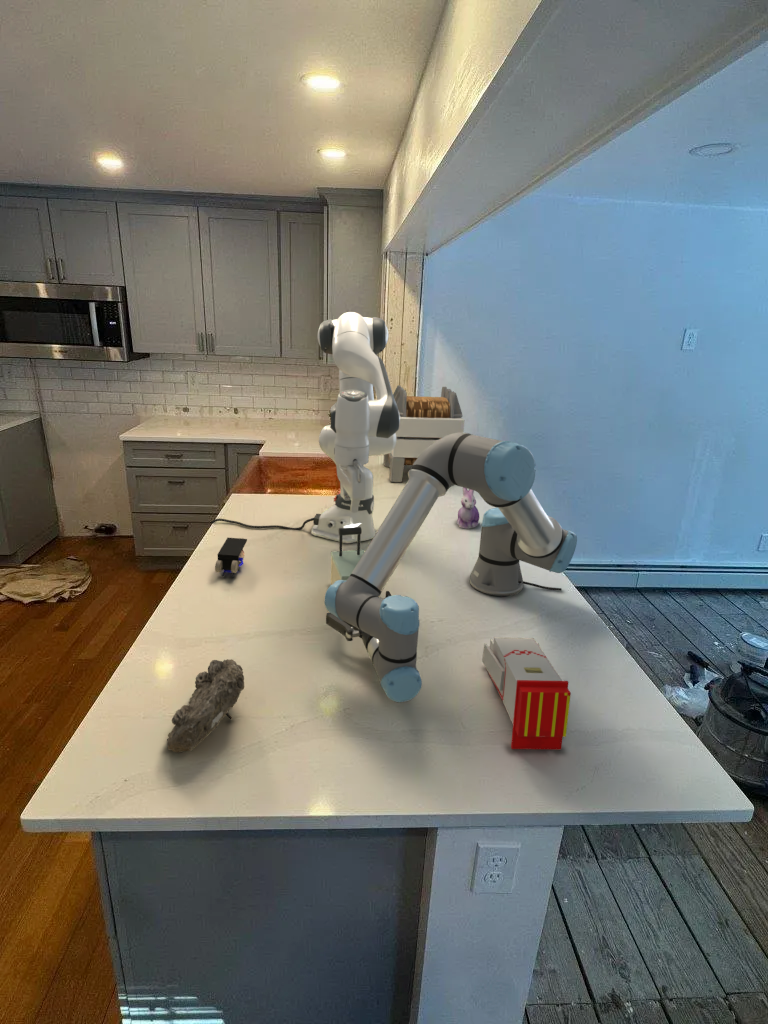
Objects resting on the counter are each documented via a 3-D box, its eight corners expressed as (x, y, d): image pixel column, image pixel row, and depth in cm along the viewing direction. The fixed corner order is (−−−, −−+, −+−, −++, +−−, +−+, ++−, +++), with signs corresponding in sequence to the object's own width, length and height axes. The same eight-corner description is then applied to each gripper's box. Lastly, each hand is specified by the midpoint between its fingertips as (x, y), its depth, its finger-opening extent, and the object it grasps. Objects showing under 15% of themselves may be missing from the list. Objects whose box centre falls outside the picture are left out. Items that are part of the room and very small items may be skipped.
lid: (330, 555, 158) (331, 524, 155) (363, 553, 160) (364, 522, 157) (341, 581, 144) (342, 547, 141) (376, 578, 146) (378, 544, 143)
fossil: (192, 660, 117) (244, 628, 112) (224, 691, 120) (276, 661, 115) (142, 746, 98) (202, 712, 93) (182, 779, 101) (242, 748, 96)
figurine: (465, 531, 205) (469, 491, 200) (449, 521, 213) (452, 483, 208) (486, 527, 209) (490, 488, 204) (470, 518, 217) (473, 481, 212)
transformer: (382, 463, 289) (386, 382, 275) (445, 464, 293) (451, 384, 279) (390, 482, 257) (394, 392, 243) (460, 483, 261) (468, 394, 247)
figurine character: (238, 584, 162) (249, 557, 175) (236, 562, 158) (247, 536, 172) (215, 584, 161) (227, 556, 175) (212, 561, 158) (225, 535, 171)
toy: (531, 620, 128) (580, 688, 99) (526, 675, 131) (572, 757, 101) (478, 619, 128) (511, 687, 98) (474, 674, 130) (505, 756, 101)
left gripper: (373, 465, 138) (371, 518, 142) (355, 445, 156) (354, 493, 161) (347, 466, 136) (346, 519, 141) (332, 446, 155) (332, 494, 159)
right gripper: (326, 667, 120) (310, 616, 139) (436, 653, 126) (407, 606, 145) (326, 636, 117) (310, 589, 136) (439, 623, 124) (409, 580, 143)
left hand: (350, 505), depth 151 cm, fingers open, 8 cm apart
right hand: (360, 598), depth 141 cm, fingers open, 13 cm apart
